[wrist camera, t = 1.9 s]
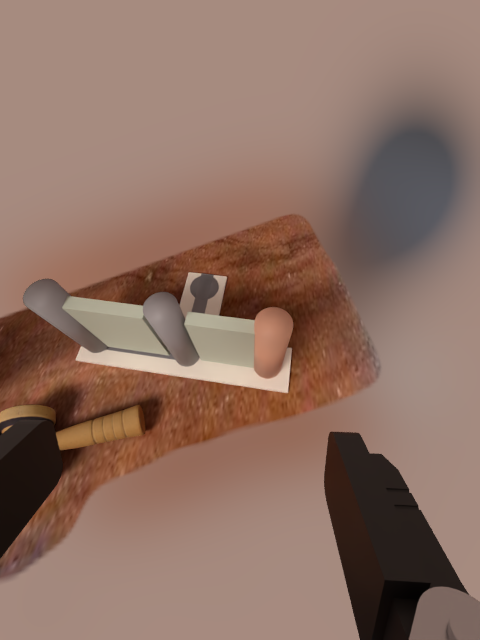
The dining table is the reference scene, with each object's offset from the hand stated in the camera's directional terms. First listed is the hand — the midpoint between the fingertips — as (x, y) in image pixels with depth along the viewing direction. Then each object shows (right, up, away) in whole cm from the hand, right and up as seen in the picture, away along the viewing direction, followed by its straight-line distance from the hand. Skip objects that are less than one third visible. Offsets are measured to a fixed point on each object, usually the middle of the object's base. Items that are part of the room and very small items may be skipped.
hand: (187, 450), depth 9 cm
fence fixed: (-10, +1, +26) cm, 27 cm away
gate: (+2, -1, +24) cm, 24 cm away
